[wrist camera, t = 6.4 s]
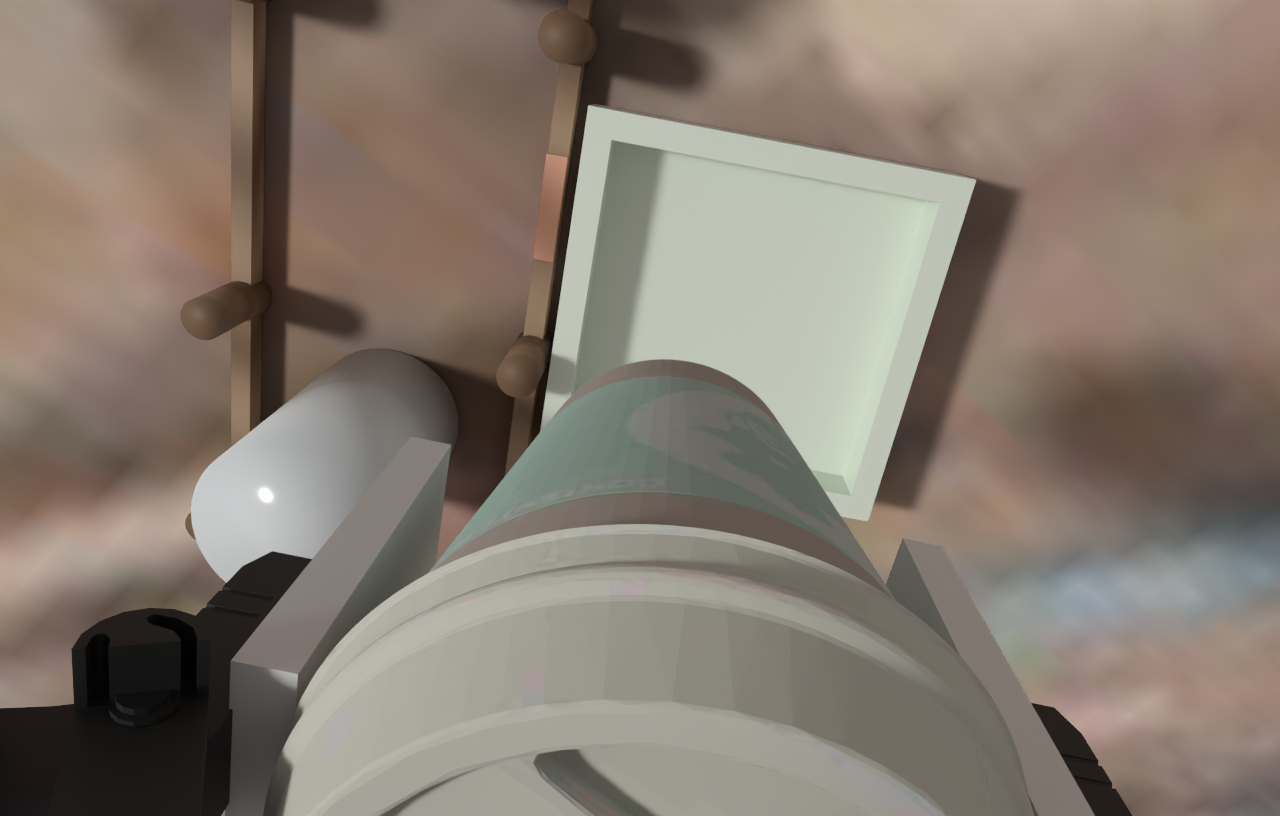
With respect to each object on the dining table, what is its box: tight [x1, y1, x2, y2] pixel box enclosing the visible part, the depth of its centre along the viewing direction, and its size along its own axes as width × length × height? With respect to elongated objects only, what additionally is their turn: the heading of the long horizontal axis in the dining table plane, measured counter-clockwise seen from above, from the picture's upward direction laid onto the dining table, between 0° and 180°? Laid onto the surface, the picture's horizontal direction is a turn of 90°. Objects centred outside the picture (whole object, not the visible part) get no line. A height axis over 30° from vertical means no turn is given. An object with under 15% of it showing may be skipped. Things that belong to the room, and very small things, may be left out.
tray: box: [540, 104, 976, 521], centre depth 33 cm, size 14×14×2 cm
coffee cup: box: [263, 359, 1034, 816], centre depth 13 cm, size 8×8×12 cm
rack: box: [181, 0, 599, 540], centre depth 31 cm, size 32×14×4 cm, turn 170°
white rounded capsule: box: [191, 349, 459, 583], centre depth 32 cm, size 6×6×10 cm
